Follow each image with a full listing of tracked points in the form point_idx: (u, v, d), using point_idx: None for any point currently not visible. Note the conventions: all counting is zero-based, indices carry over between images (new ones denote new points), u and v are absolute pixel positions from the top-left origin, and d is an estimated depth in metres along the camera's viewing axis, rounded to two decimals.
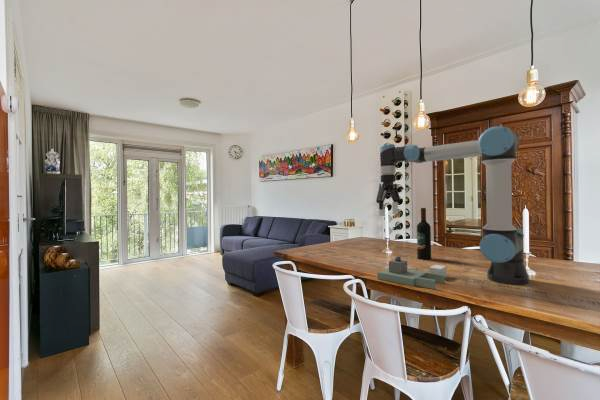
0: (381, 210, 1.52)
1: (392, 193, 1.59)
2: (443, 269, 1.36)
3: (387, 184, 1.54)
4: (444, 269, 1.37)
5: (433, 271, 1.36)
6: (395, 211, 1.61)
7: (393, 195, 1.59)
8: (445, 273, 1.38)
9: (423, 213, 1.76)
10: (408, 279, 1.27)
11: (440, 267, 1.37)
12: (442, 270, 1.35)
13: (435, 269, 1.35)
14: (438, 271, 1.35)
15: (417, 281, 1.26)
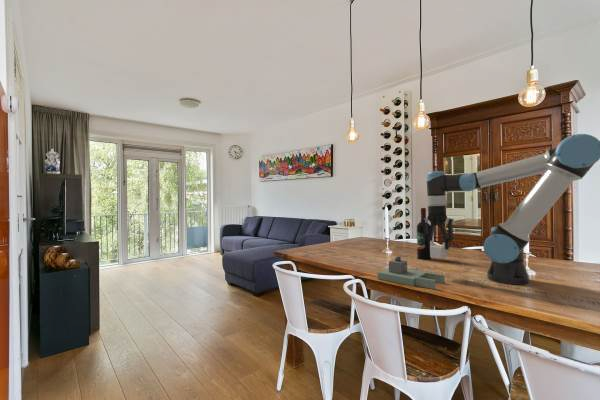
0: None
1: None
2: None
3: (429, 216, 1.39)
4: None
5: (434, 250, 1.36)
6: None
7: None
8: None
9: (423, 213, 1.76)
10: (408, 279, 1.27)
11: (440, 246, 1.36)
12: None
13: (436, 248, 1.35)
14: (439, 249, 1.34)
15: (417, 281, 1.26)
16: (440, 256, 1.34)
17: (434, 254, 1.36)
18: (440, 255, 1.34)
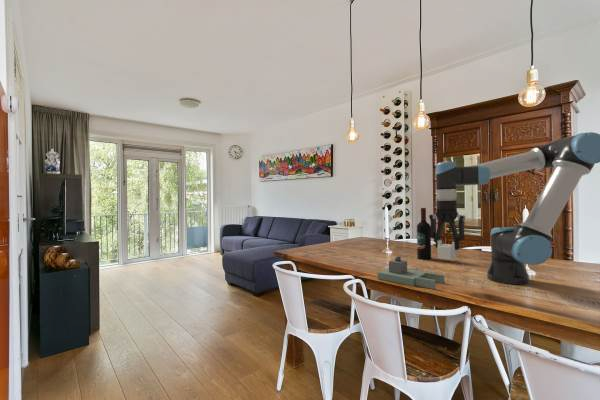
0: None
1: None
2: None
3: (438, 212, 1.24)
4: None
5: (442, 250, 1.21)
6: None
7: None
8: None
9: (423, 213, 1.76)
10: (408, 279, 1.27)
11: (449, 246, 1.21)
12: None
13: (444, 248, 1.20)
14: (447, 250, 1.19)
15: (417, 281, 1.26)
16: (449, 257, 1.19)
17: (442, 255, 1.21)
18: (449, 256, 1.19)
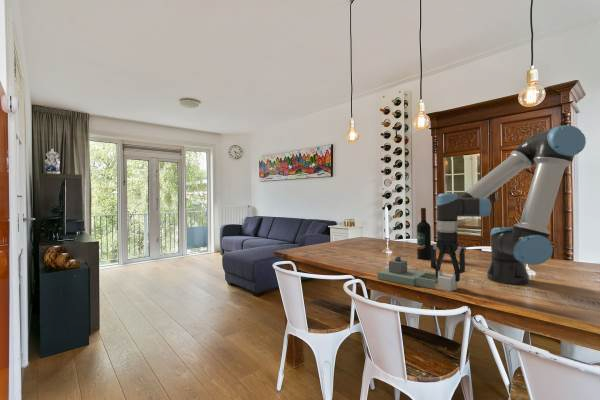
0: None
1: None
2: None
3: (438, 243, 1.24)
4: None
5: (442, 281, 1.21)
6: None
7: None
8: None
9: (423, 213, 1.76)
10: (408, 279, 1.27)
11: (450, 276, 1.21)
12: (452, 280, 1.20)
13: (444, 279, 1.20)
14: (448, 281, 1.19)
15: (417, 281, 1.26)
16: (449, 289, 1.19)
17: (442, 286, 1.21)
18: (449, 287, 1.19)
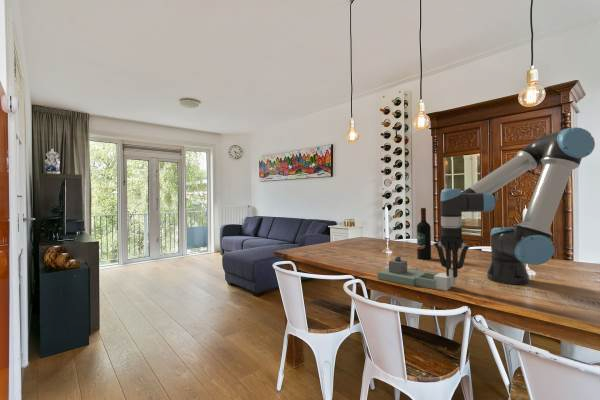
0: None
1: None
2: None
3: (442, 239, 1.23)
4: None
5: (438, 280, 1.22)
6: None
7: None
8: None
9: (423, 213, 1.76)
10: (408, 279, 1.27)
11: (446, 276, 1.22)
12: (448, 279, 1.21)
13: (440, 278, 1.21)
14: (444, 280, 1.20)
15: (417, 281, 1.26)
16: (445, 287, 1.20)
17: (438, 285, 1.22)
18: (445, 286, 1.20)
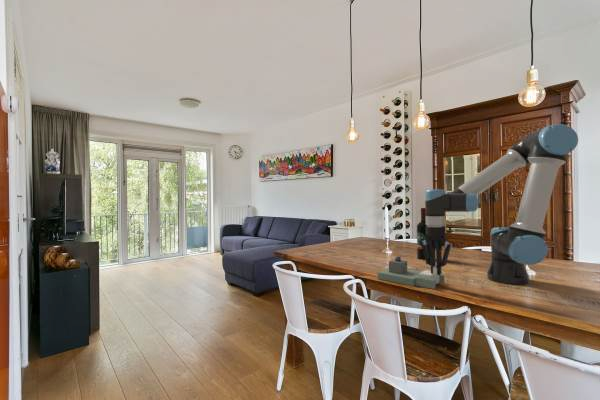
0: None
1: None
2: None
3: (427, 238, 1.27)
4: None
5: (423, 277, 1.26)
6: None
7: None
8: None
9: (423, 213, 1.76)
10: (408, 279, 1.27)
11: (430, 273, 1.27)
12: None
13: (425, 275, 1.25)
14: (428, 277, 1.25)
15: (417, 281, 1.26)
16: None
17: None
18: None
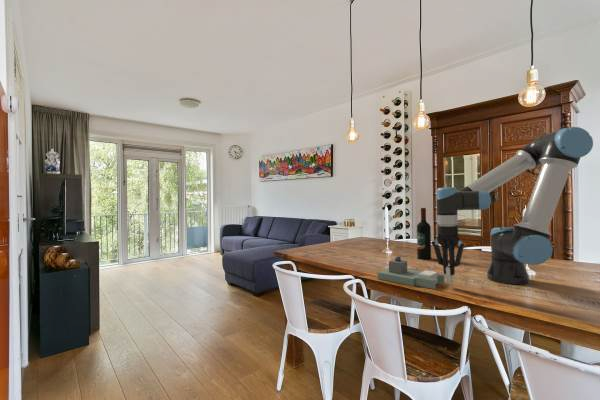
0: None
1: None
2: (433, 275, 1.26)
3: (439, 237, 1.24)
4: (435, 275, 1.27)
5: (423, 277, 1.26)
6: None
7: None
8: (436, 280, 1.28)
9: (423, 213, 1.76)
10: (408, 279, 1.27)
11: (430, 273, 1.27)
12: (432, 276, 1.25)
13: (425, 275, 1.26)
14: (428, 278, 1.25)
15: (417, 281, 1.26)
16: None
17: None
18: None
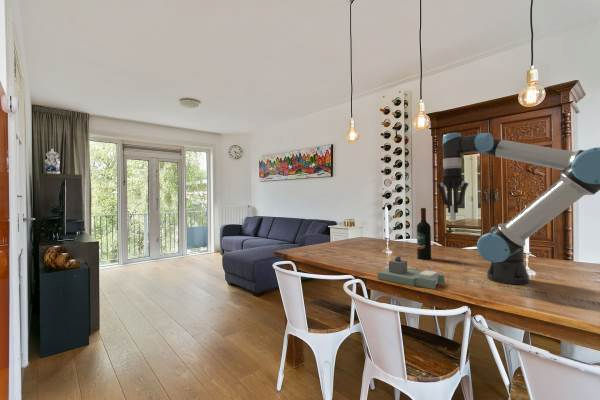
0: None
1: None
2: (433, 275, 1.26)
3: (444, 179, 1.37)
4: (435, 275, 1.27)
5: (422, 277, 1.26)
6: None
7: None
8: (436, 280, 1.28)
9: (423, 213, 1.76)
10: (408, 279, 1.27)
11: (430, 273, 1.27)
12: (432, 276, 1.25)
13: (425, 275, 1.26)
14: (428, 278, 1.25)
15: (417, 281, 1.26)
16: None
17: None
18: None
